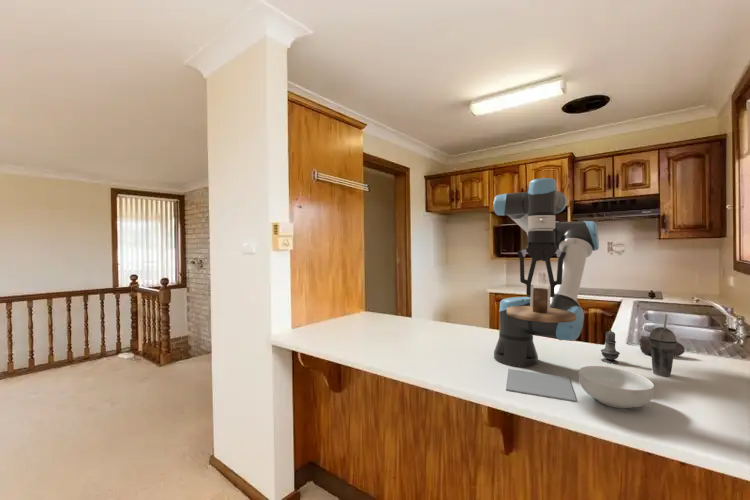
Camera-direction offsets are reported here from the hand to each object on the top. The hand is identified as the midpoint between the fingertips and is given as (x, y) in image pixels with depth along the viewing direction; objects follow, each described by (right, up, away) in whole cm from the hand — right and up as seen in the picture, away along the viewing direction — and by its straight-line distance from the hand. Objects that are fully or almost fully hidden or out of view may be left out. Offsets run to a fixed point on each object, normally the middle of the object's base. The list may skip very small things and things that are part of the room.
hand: (540, 306), depth 106 cm
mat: (0, -24, +1) cm, 24 cm away
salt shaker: (+36, -24, +22) cm, 49 cm away
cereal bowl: (+15, -24, -11) cm, 31 cm away
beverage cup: (+45, -24, +9) cm, 52 cm away
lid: (0, -3, 0) cm, 3 cm away
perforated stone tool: (+61, -24, +30) cm, 72 cm away
